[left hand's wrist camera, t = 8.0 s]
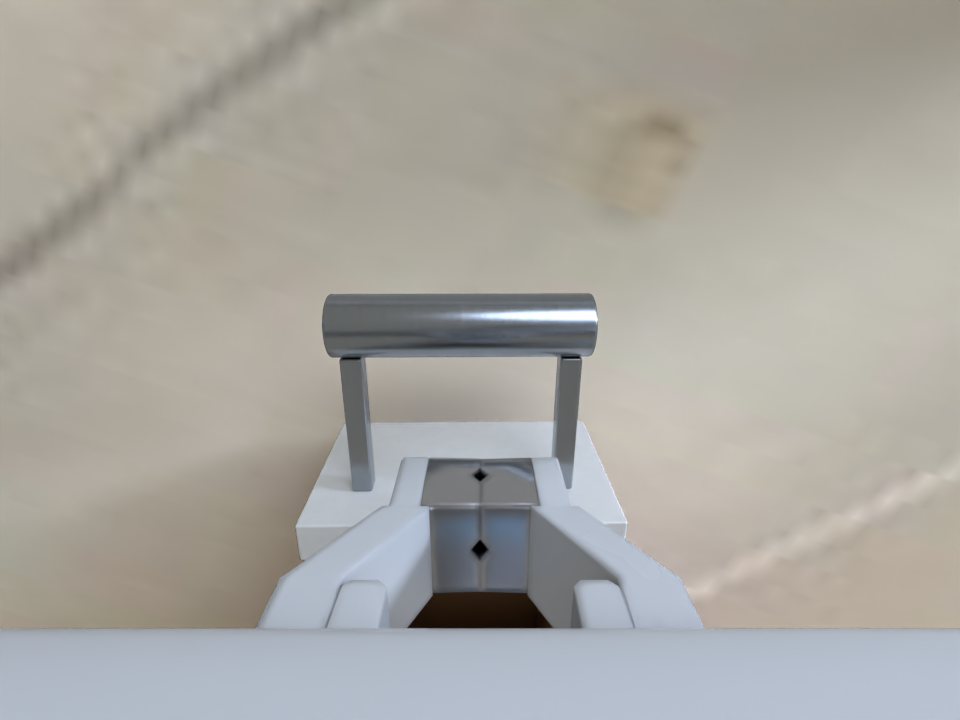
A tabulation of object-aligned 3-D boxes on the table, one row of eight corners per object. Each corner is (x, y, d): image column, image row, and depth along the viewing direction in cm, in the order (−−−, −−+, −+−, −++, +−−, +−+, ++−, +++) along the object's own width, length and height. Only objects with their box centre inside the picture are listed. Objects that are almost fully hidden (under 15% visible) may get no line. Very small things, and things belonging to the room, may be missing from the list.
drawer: (327, 265, 17) (260, 314, 12) (596, 264, 18) (655, 313, 12) (372, 701, 25) (345, 856, 19) (559, 698, 25) (585, 849, 20)
